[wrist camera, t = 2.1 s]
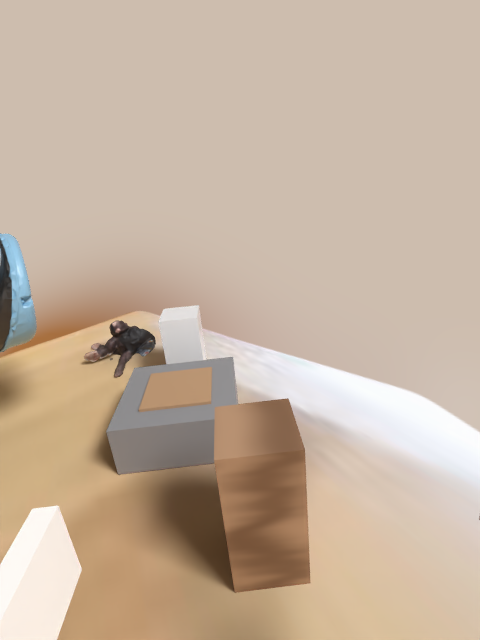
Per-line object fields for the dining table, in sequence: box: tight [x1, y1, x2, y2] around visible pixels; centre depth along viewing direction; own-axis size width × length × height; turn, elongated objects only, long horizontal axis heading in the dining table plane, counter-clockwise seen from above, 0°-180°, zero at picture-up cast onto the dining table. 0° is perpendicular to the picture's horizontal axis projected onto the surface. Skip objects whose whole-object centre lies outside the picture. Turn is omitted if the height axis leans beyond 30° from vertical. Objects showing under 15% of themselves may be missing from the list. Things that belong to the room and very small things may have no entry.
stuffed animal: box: [84, 321, 156, 377], centre depth 60 cm, size 12×10×12 cm
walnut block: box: [214, 399, 310, 592], centre depth 24 cm, size 5×5×11 cm
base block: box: [106, 357, 238, 474], centre depth 39 cm, size 12×12×5 cm
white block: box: [158, 305, 207, 364], centre depth 51 cm, size 5×5×9 cm
